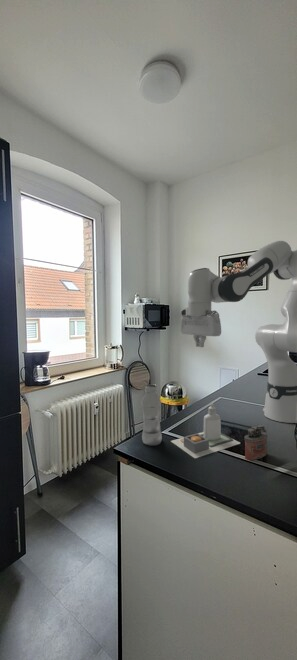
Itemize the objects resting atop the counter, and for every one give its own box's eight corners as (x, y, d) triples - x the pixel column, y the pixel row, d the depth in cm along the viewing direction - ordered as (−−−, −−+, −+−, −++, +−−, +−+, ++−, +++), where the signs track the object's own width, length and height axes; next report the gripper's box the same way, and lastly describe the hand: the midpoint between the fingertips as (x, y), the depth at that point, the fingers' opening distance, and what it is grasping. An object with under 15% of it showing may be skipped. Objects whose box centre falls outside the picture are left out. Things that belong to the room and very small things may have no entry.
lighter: (250, 466, 78) (250, 431, 77) (241, 460, 81) (241, 427, 80) (269, 459, 81) (270, 426, 81) (260, 454, 84) (260, 422, 84)
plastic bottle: (160, 450, 88) (159, 388, 87) (139, 448, 89) (138, 388, 88) (163, 441, 94) (162, 384, 93) (144, 439, 95) (143, 383, 94)
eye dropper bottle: (220, 442, 90) (220, 406, 89) (203, 440, 91) (203, 405, 91) (220, 436, 94) (220, 402, 93) (204, 434, 96) (204, 401, 95)
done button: (197, 441, 89) (196, 435, 89) (203, 445, 86) (203, 439, 86) (188, 443, 87) (188, 437, 87) (195, 448, 84) (195, 441, 84)
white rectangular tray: (213, 432, 100) (213, 421, 100) (240, 446, 89) (240, 434, 89) (170, 444, 91) (170, 432, 91) (194, 462, 80) (194, 448, 80)
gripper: (225, 310, 97) (225, 349, 97) (190, 311, 115) (190, 344, 115) (211, 310, 94) (211, 350, 94) (177, 311, 112) (178, 345, 112)
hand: (199, 347), depth 105 cm, fingers closed
